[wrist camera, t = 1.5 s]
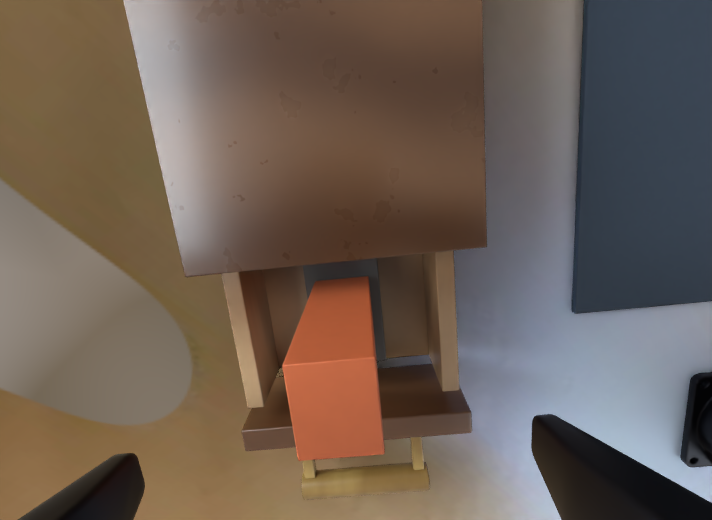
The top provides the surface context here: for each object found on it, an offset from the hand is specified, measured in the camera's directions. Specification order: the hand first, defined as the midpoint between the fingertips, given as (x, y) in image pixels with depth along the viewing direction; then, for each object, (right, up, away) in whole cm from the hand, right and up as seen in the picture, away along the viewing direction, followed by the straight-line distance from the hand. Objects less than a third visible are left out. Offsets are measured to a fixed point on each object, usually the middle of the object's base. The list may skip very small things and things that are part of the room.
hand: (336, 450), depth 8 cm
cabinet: (-1, +12, +11) cm, 17 cm away
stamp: (0, +2, +11) cm, 12 cm away
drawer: (0, +1, +13) cm, 13 cm away
